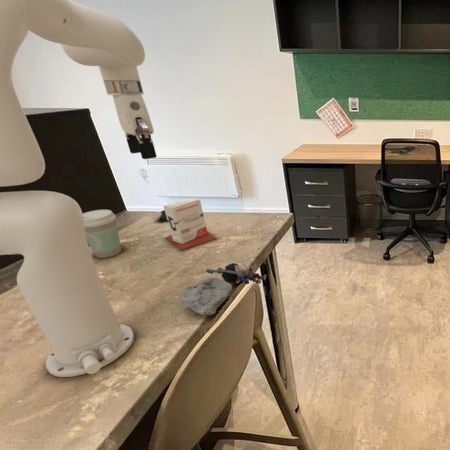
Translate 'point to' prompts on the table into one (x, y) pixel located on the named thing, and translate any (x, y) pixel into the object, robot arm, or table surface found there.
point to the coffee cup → (102, 233)
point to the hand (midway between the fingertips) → (143, 155)
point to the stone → (206, 295)
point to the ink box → (185, 220)
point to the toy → (238, 274)
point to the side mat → (192, 241)
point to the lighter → (162, 217)
